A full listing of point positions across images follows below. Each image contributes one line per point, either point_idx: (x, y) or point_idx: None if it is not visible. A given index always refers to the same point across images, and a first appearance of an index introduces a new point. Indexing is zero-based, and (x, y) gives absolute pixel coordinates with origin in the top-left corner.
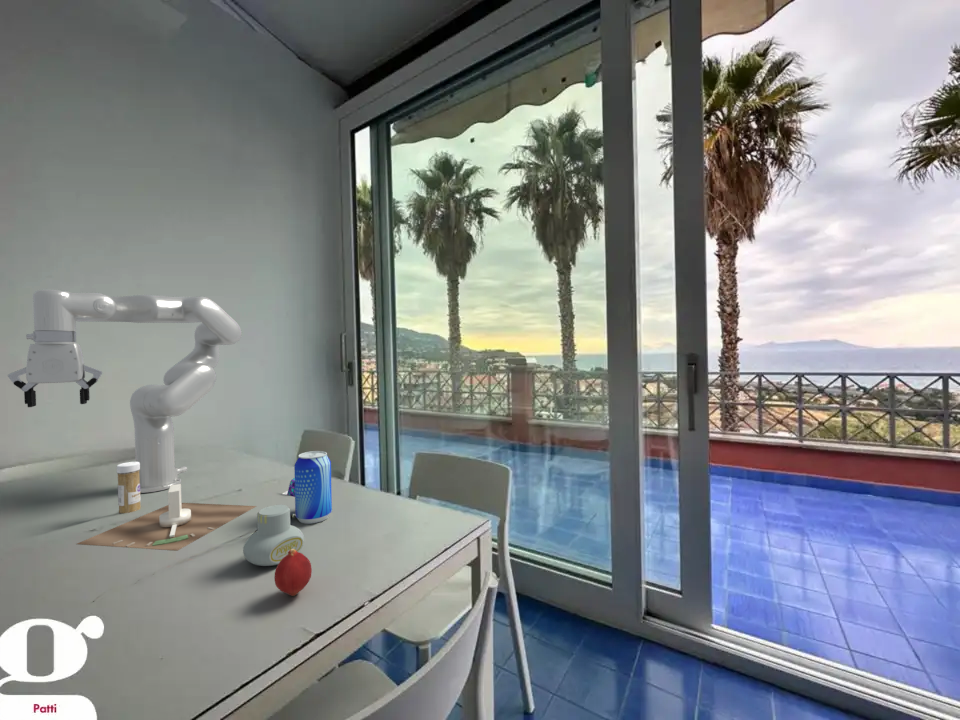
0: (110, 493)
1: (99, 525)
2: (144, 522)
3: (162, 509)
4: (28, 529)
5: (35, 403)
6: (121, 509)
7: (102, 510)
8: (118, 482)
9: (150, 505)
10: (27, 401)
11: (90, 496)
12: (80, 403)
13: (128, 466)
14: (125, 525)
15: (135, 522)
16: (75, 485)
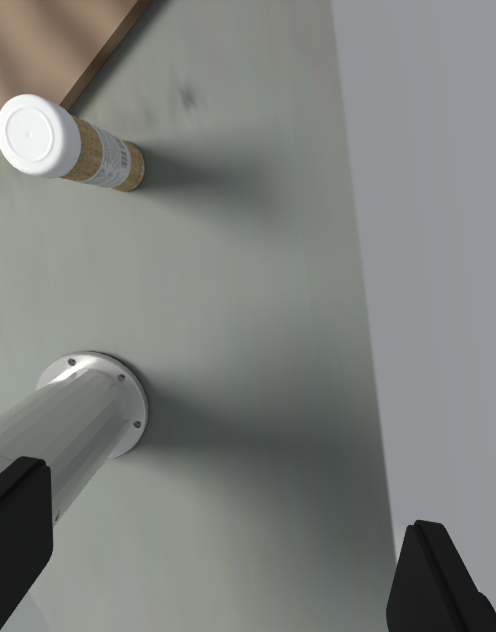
0: (189, 418)
1: (179, 131)
2: (67, 2)
3: None
4: (321, 219)
5: (393, 625)
6: (127, 145)
7: (188, 268)
8: (94, 136)
9: (88, 229)
10: (466, 569)
11: (229, 423)
12: (45, 463)
13: (25, 94)
14: (108, 9)
15: (89, 21)
16: (272, 555)
